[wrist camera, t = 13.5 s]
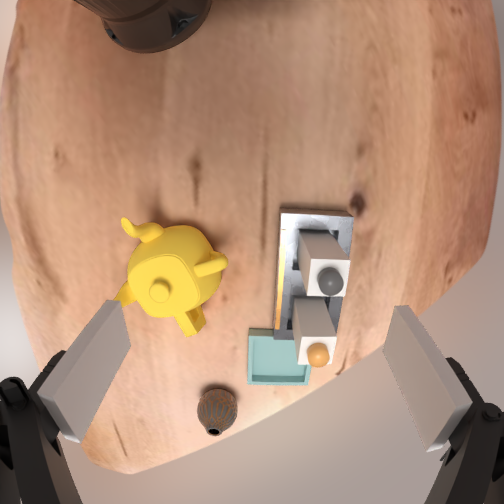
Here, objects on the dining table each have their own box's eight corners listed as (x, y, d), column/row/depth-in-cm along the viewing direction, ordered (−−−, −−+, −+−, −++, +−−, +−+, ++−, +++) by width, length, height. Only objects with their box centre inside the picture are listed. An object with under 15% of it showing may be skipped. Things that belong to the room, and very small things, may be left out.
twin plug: (296, 258, 41) (309, 302, 29) (298, 229, 40) (313, 264, 28) (325, 259, 41) (348, 303, 29) (328, 230, 40) (354, 265, 28)
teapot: (150, 200, 40) (119, 217, 31) (240, 238, 42) (233, 265, 32) (126, 284, 45) (97, 316, 35) (205, 318, 46) (193, 358, 37)
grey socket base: (272, 326, 46) (273, 340, 42) (279, 207, 40) (281, 213, 37) (330, 327, 46) (335, 341, 42) (346, 211, 40) (354, 217, 36)
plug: (290, 316, 44) (298, 372, 32) (293, 291, 43) (303, 344, 31) (317, 316, 44) (333, 372, 32) (321, 292, 43) (339, 344, 31)
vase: (193, 394, 52) (184, 430, 43) (216, 377, 50) (209, 413, 42) (222, 412, 53) (217, 448, 45) (246, 396, 51) (244, 433, 43)
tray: (247, 376, 50) (247, 384, 48) (249, 328, 46) (248, 335, 44) (306, 377, 49) (307, 385, 47) (314, 329, 46) (316, 337, 44)
